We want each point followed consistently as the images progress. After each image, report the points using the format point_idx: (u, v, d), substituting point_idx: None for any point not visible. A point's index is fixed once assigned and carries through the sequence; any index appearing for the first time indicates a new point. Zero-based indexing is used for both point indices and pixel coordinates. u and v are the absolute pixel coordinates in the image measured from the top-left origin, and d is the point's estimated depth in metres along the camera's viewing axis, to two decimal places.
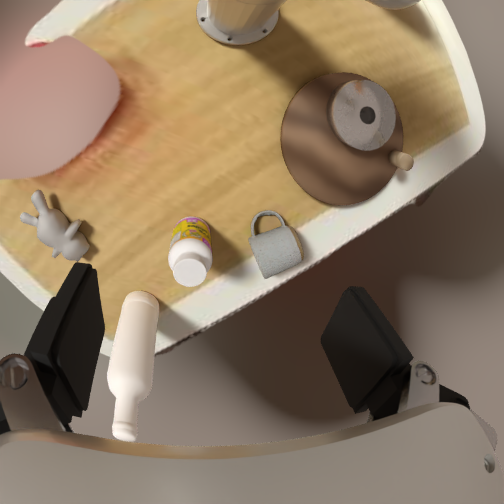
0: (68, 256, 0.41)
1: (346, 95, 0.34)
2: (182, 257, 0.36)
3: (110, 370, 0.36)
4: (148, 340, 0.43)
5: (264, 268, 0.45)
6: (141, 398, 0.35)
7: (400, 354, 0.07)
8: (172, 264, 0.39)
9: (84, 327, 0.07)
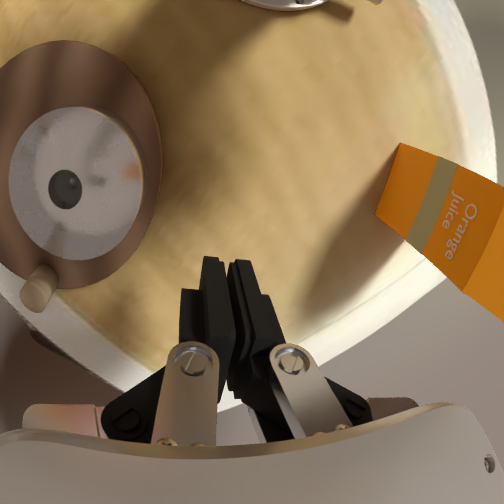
0: None
1: (88, 126, 0.14)
2: None
3: None
4: None
5: None
6: None
7: (255, 330, 0.07)
8: None
9: None
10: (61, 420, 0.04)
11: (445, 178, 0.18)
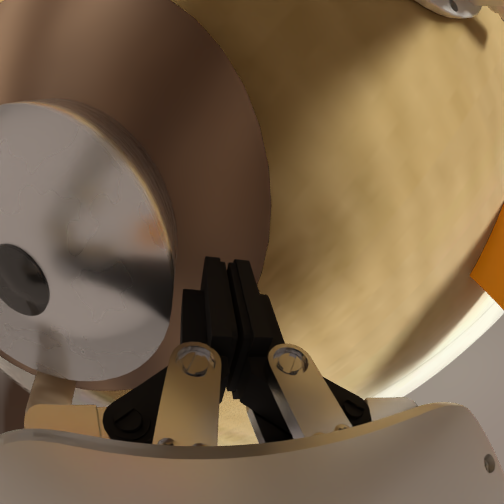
0: None
1: (43, 151, 0.05)
2: None
3: None
4: None
5: None
6: None
7: (254, 330, 0.07)
8: None
9: None
10: (63, 421, 0.04)
11: None
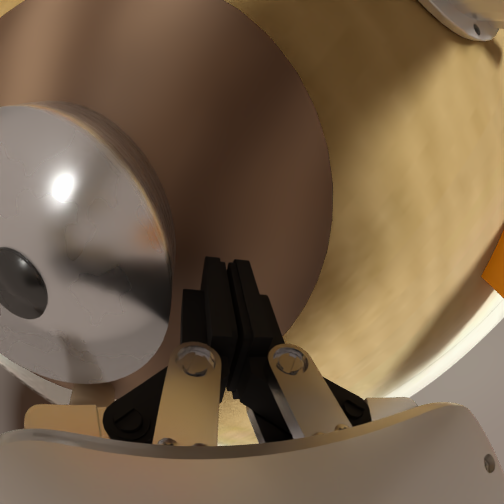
0: None
1: (40, 154, 0.05)
2: None
3: None
4: None
5: None
6: None
7: (254, 330, 0.07)
8: None
9: None
10: (63, 421, 0.04)
11: None
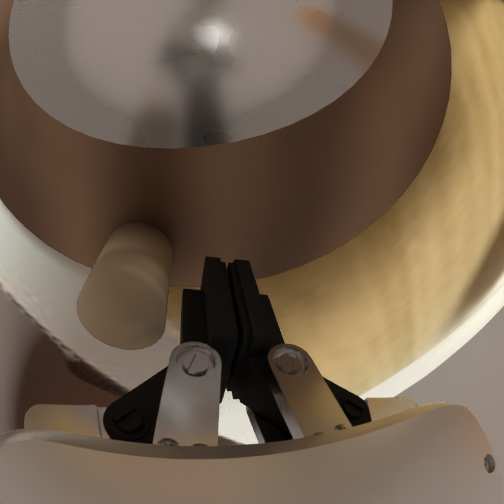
0: None
1: None
2: None
3: None
4: None
5: None
6: None
7: (254, 330, 0.07)
8: None
9: None
10: (63, 421, 0.04)
11: None
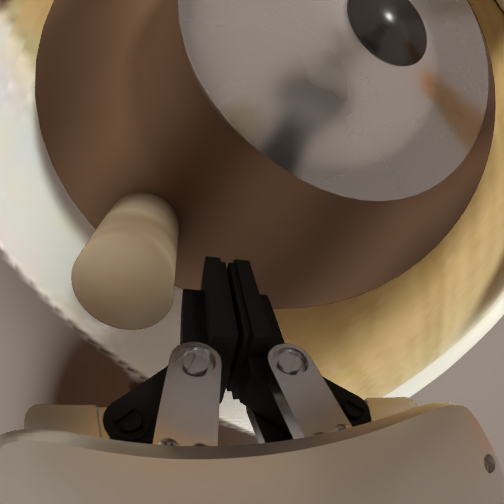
0: None
1: (470, 35, 0.05)
2: None
3: None
4: None
5: None
6: None
7: (254, 330, 0.07)
8: None
9: None
10: (63, 421, 0.04)
11: None
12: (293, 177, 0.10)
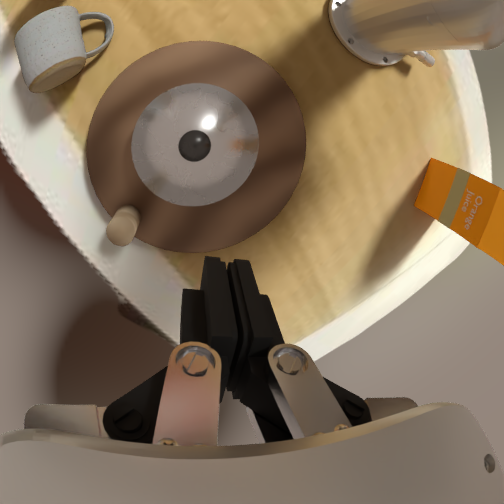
0: None
1: (245, 128, 0.24)
2: None
3: None
4: None
5: (31, 22, 0.11)
6: None
7: (254, 330, 0.07)
8: None
9: None
10: (63, 421, 0.04)
11: (462, 181, 0.29)
12: None
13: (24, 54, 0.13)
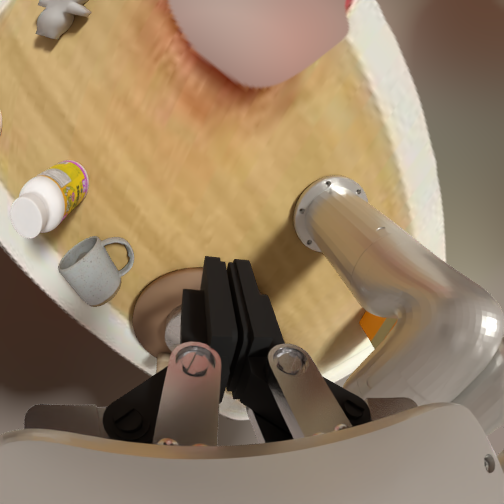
0: (42, 18, 0.15)
1: None
2: (41, 205, 0.21)
3: None
4: None
5: (72, 271, 0.30)
6: None
7: (254, 330, 0.07)
8: (31, 186, 0.21)
9: None
10: (63, 421, 0.04)
11: (391, 322, 0.47)
12: None
13: (76, 289, 0.32)
